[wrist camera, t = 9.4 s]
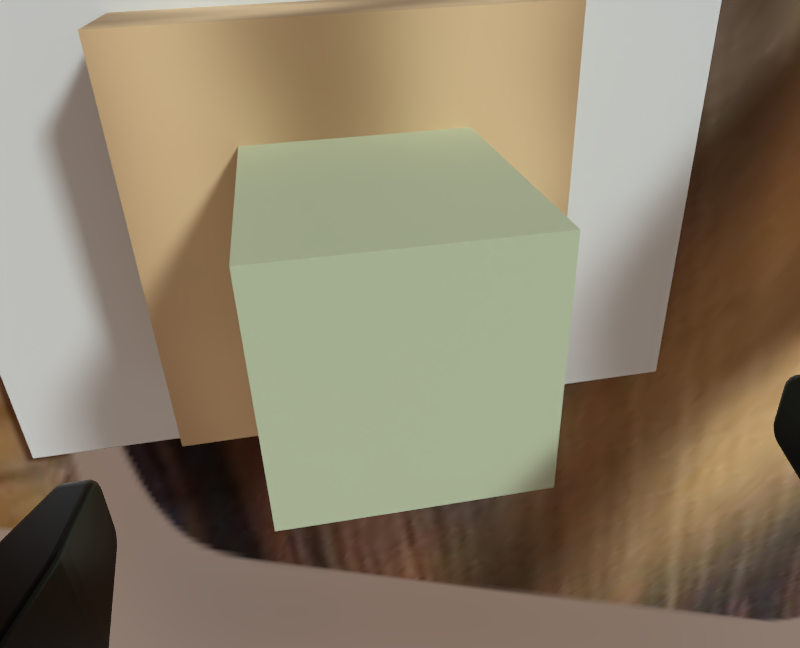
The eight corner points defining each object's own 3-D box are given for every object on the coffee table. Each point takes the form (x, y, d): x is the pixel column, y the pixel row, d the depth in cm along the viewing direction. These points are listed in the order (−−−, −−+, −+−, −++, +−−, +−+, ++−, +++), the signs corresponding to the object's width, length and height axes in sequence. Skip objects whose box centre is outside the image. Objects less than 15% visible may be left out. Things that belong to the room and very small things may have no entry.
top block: (470, 127, 15) (580, 230, 10) (467, 325, 18) (553, 487, 13) (238, 146, 15) (228, 266, 9) (269, 348, 17) (274, 531, 12)
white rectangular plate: (723, -116, 17) (742, -118, 17) (644, 358, 24) (655, 371, 24) (-159, -82, 15) (-180, -82, 14) (39, 441, 22) (33, 458, 21)
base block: (536, -13, 17) (586, -2, 14) (516, 339, 22) (551, 394, 19) (107, 12, 16) (77, 29, 13) (191, 381, 21) (182, 446, 18)
